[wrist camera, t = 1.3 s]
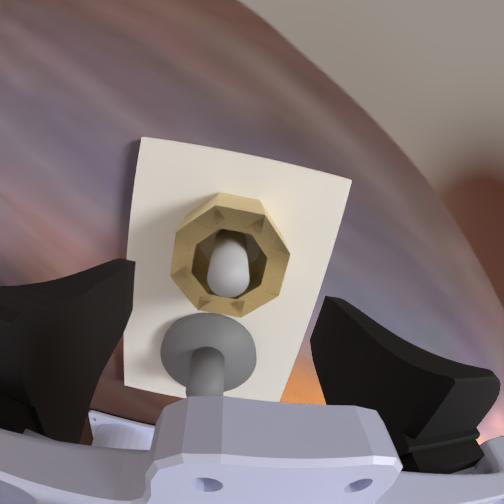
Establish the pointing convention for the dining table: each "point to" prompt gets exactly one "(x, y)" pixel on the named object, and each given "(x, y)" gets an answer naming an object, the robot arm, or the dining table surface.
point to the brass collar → (260, 270)
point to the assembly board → (155, 243)
